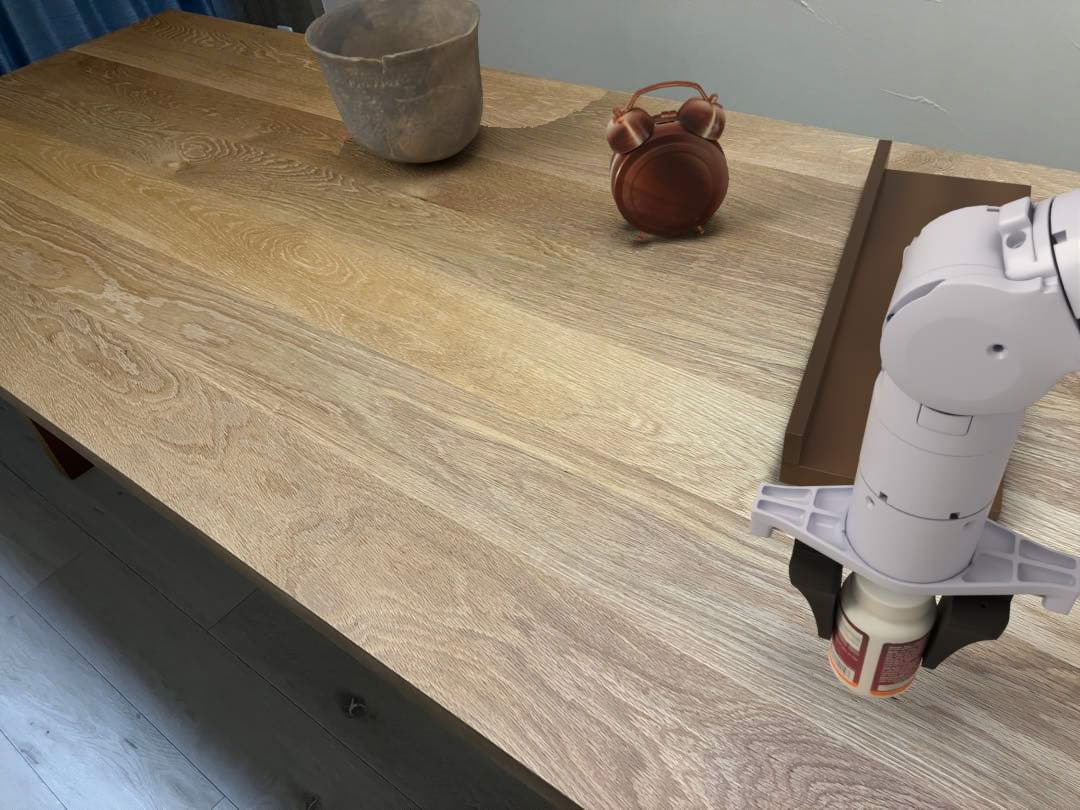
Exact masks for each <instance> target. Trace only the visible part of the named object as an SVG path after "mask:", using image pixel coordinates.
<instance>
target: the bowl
mask: <svg viewBox="0 0 1080 810" xmlns="http://www.w3.org/2000/svg"><path fill="white" fill-rule="evenodd" d="M480 18H481V10H480V7H479V6H478V4H477V3H476V2H475V1H473V0H352V1H348V2H345V3H342V4H340V5H338V6H336V7H334V8H332V9H329V10H328V11H327V12H325V13H323V14H322V15H321V16H319V17H317V18H315V19H314V20H313V21H312V22H311V23H310V24H309V26H308V27H307V29H306V31H305V32H304V41H305V43H306V45H307V46H308V48H309V49H310V51H311V52H312V53H313V56H314V57H315V58H316V61H317V63H318V64H319V67H320V69H321V72H322V74H323V76H324V79H325V81H326V83H327V86H328V88H329V90H330V94H331V96H332V99H333V102H334V104H335V106H336V109H337V111H338V113H339V115H340V118H341V119H342V121H343V124H344V126H345V129H346V130H347V133H348V134H349V136H350V137H351V138H352V140H353V141H354V142H355V143H356V144H358V145H359V146H360V147H361V148H363V149H364V150H365V151H367V152H368V153H371V154H372V155H374V156H377V157H380V158H383V159H385V160H389V161H391V162H394V163H395V162H396V163H409V164H410V163H411V164H425V163H426V164H427V163H432V162H437V161H441V160H445V159H447V158H451V157H453V156H455V155H457V154H458V153H459V152H461V151H462V150H463V149H465V148H466V147H467V146H468V145H469V144H470V142H471V141H473V139H474V138H475V136H477V134H478V132H479V129H480V127H481V122H482V115H483V111H484V89H483V80H482V79H483V77H482V75H481V62H480V48H479V25H480V20H481V19H480Z"/></svg>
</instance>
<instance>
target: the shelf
mask: <svg viewBox="0 0 1080 810" xmlns="http://www.w3.org/2000/svg"><path fill="white" fill-rule="evenodd" d="M892 144H893V140H892V139H891V140H890V139H881V138H879V139H878V141H877V145H876V148H875V151H874V155H873V157H872V160H871V165H870V167H869V170H868V173H867V176H866V180H865V183H864V185H863V188H862V192H861V194H860V198H859V200H858V204H857V208H856V210H855V213H854V217H853V220H852V223H851V225H850V229H849V232H848V236H847V239H846V241H845V245H844V248H843V251H842V254H841V258H840V260H839V264H838V267H837V270H836V273H835V275H834V279H833V282H832V285H831V288H830V291H829V294H828V297H827V301H826V303H825V306H824V310H823V313H822V316H821V318H820V319H821V320H820V323H819V325H818V329H817V331H816V334H815V338H814V341H813V344H812V347H811V350H810V354H809V357H808V359H807V362H806V366H805V369H804V372H803V375H802V378H801V381H800V384H799V388H798V391H797V394H796V397H795V399H794V403H793V407H792V409H791V412H790V416H789V419H788V422H787V425H786V428H785V431H784V438H783V444H782V452H781V459H780V467H779V476H778V481H779V482H781V483H786V484H790V485H793V486H843V485H854V482H855V477H856V473H857V468H858V464H859V457H860V452H861V447H862V443H863V438H864V433H865V428H866V424H867V419H868V414H869V410H870V405H871V400H872V396H873V390H874V386H875V382H876V379H877V377H878V375H879V373H880V372H881V370H882V360H881V354H880V343H881V337H882V328H883V324H884V320H885V318H886V315H887V312H888V309H889V306H890V303H891V300H892V297H893V294H894V290H895V287H896V284H897V281H898V278H899V275H900V272H901V269H902V266H903V254H904V250H905V248H906V247H907V246H910V245H911V243H912V241H913V239H914V238H915V236H916V237H917V238H918V236H919V235H920V234H921V231H922V229H923V228H924V227H925V226H926V225H928V224H929V223H930V222H932V221H933V220H935V219H937V218H938V217H940V216H942V215H944V214H947V213H949V212H951V211H954V210H958V209H962V208H966V207H973V206H982V205H988V206H996V207H1000V206H1001V207H1002V206H1003V205H1005V204H1008V203H1010V202H1013V201H1016V200H1019V199H1022V198H1024V197H1030V198H1031V197H1032V187H1033V186H1032V185H1031V184H1022V183H1012V182H1004V181H996V180H988V179H979V178H978V179H977V178H970V177H961V176H954V175H953V176H952V175H944V174H936V173H926V172H920V171H919V172H918V171H910V170H909V171H908V170H900V169H891V168H888V166H889V161H890V156H891V151H892V146H893V145H892ZM1005 471H1006V470H1005ZM1005 471H1004V474H1003V476H1002V479H1001V482H1000V484H999V487H998V490H997V493H996V495H995V498H994V501H993V503H992V506H991V509H990V511H989V514H988V517H987V518H988V519H990V520H992V521H994V522H996V523H998V520H999V518H1000V515H1001V512H1002V502H1003V492H1004V481H1005Z"/></svg>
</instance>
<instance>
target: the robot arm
mask: <svg viewBox="0 0 1080 810" xmlns="http://www.w3.org/2000/svg"><path fill="white" fill-rule="evenodd" d="M880 354H881V360H882V370H881V372H880V373H879V375H878V377H877V379H876V382H875V386H874V390H873V396H872V400H871V405H870V410H869V414H868V419H867V424H866V428H865V433H864V438H863V443H862V447H861V452H860V457H859V464H858V468H857V473H856V477H855V482H854V485H843V486H798V485H790V486H789V485H780V484H773V483H768V482H764V481H761V482H760V483H759V486H758V489H757V491H756V495H755V498H754V501H753V503H752V507H751V511H750V521H749V522H750V523H749V531H748V532H749V535H753V536H756V537H760V538H764V539H769V538H771V537H772V536H773V532H774V531H777V532H780V533H781V532H782V533H784V534H788V535H789V536H791V537H793V538H794V542H793V546H792V551H791V557H790V559H789V563H788V578H789V582H790V584H791V585H792V586H793V587H794V588H795V589H797V590H798V591H799V593H800V594H801V595H802V596H803V598H805V600H806V601H807V603H808V605H809V607H810V609H811V612H812V614H813V618H814V621H815V624H816V629H817V636H818V638H820V639H823V640H827V641H830V640H831V635H832V631H833V627H834V622H835V616H836V611H837V606H838V601H839V596H840V590H841V587H842V584H843V572H844V571H843V570H844V567H845V568H847V569H849V570H850V571H851V572H852V571H854V572H856V573H858V574H859V575H861V576H863V577H865V578H866V579H868V580H870V581H872V582H873V583H875V584H877V585H879V586H881V587H883V588H886V589H888V590H891V591H894V592H898V593H902V594H908V595H919V596H936V597H937V596H941V597H940V598H939V600H938V602H937V616H936V620H935V623H934V625H933V628H932V631H931V634H930V637H929V640H928V643H927V645H926V648H925V651H924V654H923V657H922V660H921V663H920V667H921V668H924V669H928V670H931V671H934V670H936V669H937V668H938V667H939V666H940V665H941V664H942V663H944V661H945V660H947V659H948V658H949V657H950V656H952V655H953V654H955V653H956V652H958V651H959V650H961V649H963V648H965V647H967V646H970V645H973V644H976V643H980V642H987V641H997V640H998V639H1000V637H1001V636H1002V635H1003V633H1004V632H1005V631H1006V629H1007V628H1008V625H1009V623H1010V617H1011V605H1012V601H1013V599H1014V596H1019V595H1020V596H1021V595H1022V596H1023V595H1028V596H1029V595H1031V596H1034V597H1038V598H1041V606H1042V607H1043V608H1044V610H1046V611H1049V612H1051V613H1056V614H1060V615H1064V616H1069V614H1070V612H1071V610H1072V608H1073V607H1074V605H1075V603H1076V601H1077V600H1078V597H1079V595H1080V556H1077V555H1073V554H1069V553H1065V552H1063V551H1059V550H1056V549H1054V548H1051V547H1048V546H1045V545H1044V544H1042V543H1039V542H1038V541H1035V540H1033V539H1031V538H1029V537H1027V536H1025V535H1022V534H1021V533H1018V532H1016V531H1015V530H1013V529H1011V528H1008V527H1006V526H1004V525H1003V524H1000V523H998V522H997V523H996V522H994V521H992V520H990V519H988V518H987V517H988V514H989V511H990V509H991V506H992V503H993V501H994V498H995V495H996V493H997V490H998V487H999V484H1000V482H1001V479H1002V476H1003V474H1004V475H1005V472H1004V471H1006V468H1007V465H1008V463H1009V461H1010V457H1011V455H1012V452H1013V450H1014V447H1015V444H1016V441H1017V440H1018V436H1019V434H1020V432H1021V429H1022V425H1023V423H1024V421H1025V417H1026V409H1027V408H1029V407H1031V406H1033V405H1034V404H1036V403H1037V402H1039V401H1040V400H1041V399H1043V398H1044V397H1045V396H1046V395H1047V394H1048V393H1049V392H1050V390H1052V389H1053V387H1054V385H1056V383H1057V382H1058V381H1059V380H1060V379H1062V378H1063V377H1065V376H1067V375H1070V374H1073V373H1078V372H1080V187H1075V188H1074V189H1071V190H1067V191H1065V192H1062V193H1059V194H1056V195H1054V196H1051V197H1048V198H1045V199H1042V200H1040V201H1037V202H1036V201H1035V202H1034V200H1033V199H1032V198H1031V197H1024V198H1022V199H1019V200H1016V201H1013V202H1010V203H1008V204H1005V205H1003V206H1002V207H1001V206H1000V207H996V206H988V205H982V206H973V207H966V208H962V209H958V210H954V211H951V212H949V213H947V214H944V215H942V216H940V217H938V218H937V219H935V220H933V221H932V222H930V223H929V224H928V225H926V226H925V227H924V228H923V229H922V231H921V234H920V235H919V236H918V238H917V237H916V236H915V238H914V239H913V241H912V243H911V245H910V246H907V247H906V248H905V250H904V254H903V266H902V269H901V272H900V275H899V278H898V281H897V284H896V287H895V290H894V294H893V297H892V300H891V303H890V306H889V309H888V312H887V315H886V318H885V320H884V324H883V328H882V337H881V343H880Z"/></svg>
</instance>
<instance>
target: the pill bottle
mask: <svg viewBox="0 0 1080 810" xmlns="http://www.w3.org/2000/svg"><path fill="white" fill-rule="evenodd" d="M937 605H938V601H937V596H919V595H908V594H902V593H898V592H894V591H891V590H888V589H886V588H883V587H881V586H879V585H877V584H875V583H873V582H872V581H870V580H868V579H866V578H865V577H863V576H861V575H859V574H858V573H856V572H854V571H852V570H851V572H850V573H849V574H848V575H847V577H846V578H844V580H843V581H842V584H841V590H840V596H839V601H838V606H837V611H836V616H835V622H834V627H833V631H832V635H831V640H829V645H828V651H827V652H828V653H827V656H828V661H829V664H830V665H829V666H830V668H831V670H832V672H833V674H834V675H835V677H836V678H837V679H838V680H839V681H840V682H841V684H842V685H843V686H845V687H846V688H848V689H850V690H851V691H853V692H855V693H857V694H858V695H861V696H864V697H867V698H870V699H890V698H893V697H896V696H898V695H901V694H902V693H904V692H905V691H907V690H908V689H909V688H910V687H911V686H912V684H913V683H914V681H915V679H916V677H917V673H918V670H919V668H920V667H921V663H922V657H923V654H924V651H925V648H926V645H927V643H928V640H929V637H930V634H931V631H932V628H933V625H934V623H935V620H936V616H937Z"/></svg>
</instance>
